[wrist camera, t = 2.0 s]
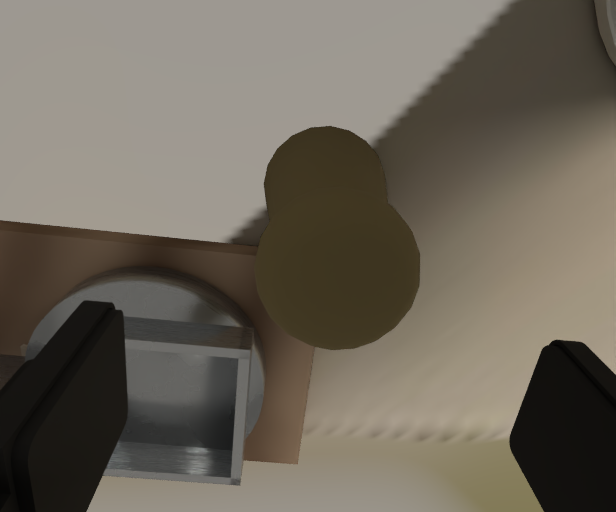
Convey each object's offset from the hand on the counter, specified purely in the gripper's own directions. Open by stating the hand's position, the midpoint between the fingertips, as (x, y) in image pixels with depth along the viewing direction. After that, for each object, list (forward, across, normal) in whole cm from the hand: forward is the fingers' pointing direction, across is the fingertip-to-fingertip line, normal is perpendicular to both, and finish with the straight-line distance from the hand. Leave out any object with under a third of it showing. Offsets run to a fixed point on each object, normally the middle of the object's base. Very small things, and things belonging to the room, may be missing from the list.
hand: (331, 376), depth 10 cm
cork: (+14, -1, 0) cm, 14 cm away
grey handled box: (+13, +9, +10) cm, 19 cm away
